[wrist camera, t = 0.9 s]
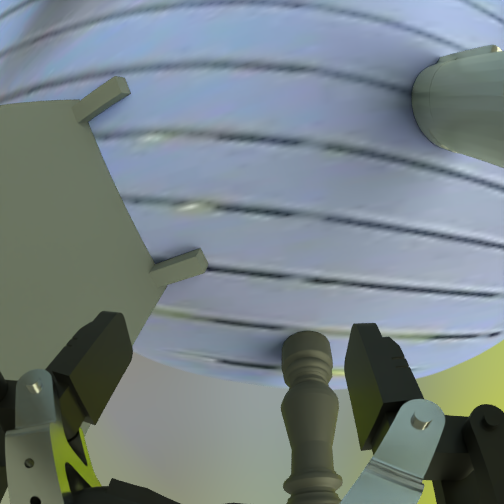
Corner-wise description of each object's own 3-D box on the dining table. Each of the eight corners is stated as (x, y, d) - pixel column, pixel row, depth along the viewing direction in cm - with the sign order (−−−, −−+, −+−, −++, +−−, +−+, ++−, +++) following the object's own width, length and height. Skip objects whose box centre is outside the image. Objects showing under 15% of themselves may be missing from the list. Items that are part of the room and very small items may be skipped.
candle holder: (280, 365, 38) (271, 549, 16) (282, 330, 36) (275, 541, 13) (326, 365, 38) (342, 546, 15) (333, 330, 35) (361, 535, 13)
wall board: (121, 70, 24) (-99, 62, 3) (212, 271, 33) (132, 484, 11) (48, 124, 27) (-130, 181, 5) (132, 297, 36) (31, 456, 14)
